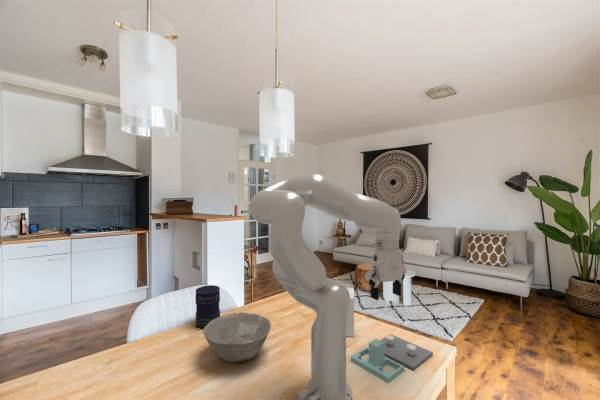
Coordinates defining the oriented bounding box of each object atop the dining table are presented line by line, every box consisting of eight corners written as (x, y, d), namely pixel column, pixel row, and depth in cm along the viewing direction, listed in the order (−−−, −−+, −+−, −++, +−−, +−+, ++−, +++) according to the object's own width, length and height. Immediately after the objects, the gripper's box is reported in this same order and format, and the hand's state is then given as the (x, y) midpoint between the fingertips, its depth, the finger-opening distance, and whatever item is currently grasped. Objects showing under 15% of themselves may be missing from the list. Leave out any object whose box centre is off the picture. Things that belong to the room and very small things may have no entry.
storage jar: (224, 319, 122) (223, 285, 121) (213, 330, 112) (213, 293, 112) (202, 318, 123) (202, 284, 123) (190, 328, 113) (190, 292, 113)
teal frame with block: (388, 382, 80) (388, 357, 80) (350, 360, 91) (350, 338, 91) (403, 370, 86) (404, 347, 86) (366, 351, 97) (366, 330, 97)
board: (413, 370, 86) (413, 358, 86) (370, 348, 98) (370, 338, 98) (432, 355, 94) (432, 344, 94) (390, 336, 106) (390, 327, 106)
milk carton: (353, 337, 106) (353, 288, 106) (335, 335, 108) (335, 286, 107) (353, 328, 113) (353, 282, 113) (336, 326, 115) (336, 281, 114)
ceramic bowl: (246, 385, 80) (246, 350, 80) (188, 364, 89) (187, 334, 89) (283, 346, 100) (283, 319, 100) (232, 333, 109) (231, 308, 109)
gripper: (374, 248, 85) (373, 304, 85) (414, 245, 92) (413, 296, 92) (358, 244, 91) (357, 296, 91) (397, 242, 99) (396, 289, 99)
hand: (385, 296), depth 92 cm, fingers open, 9 cm apart
